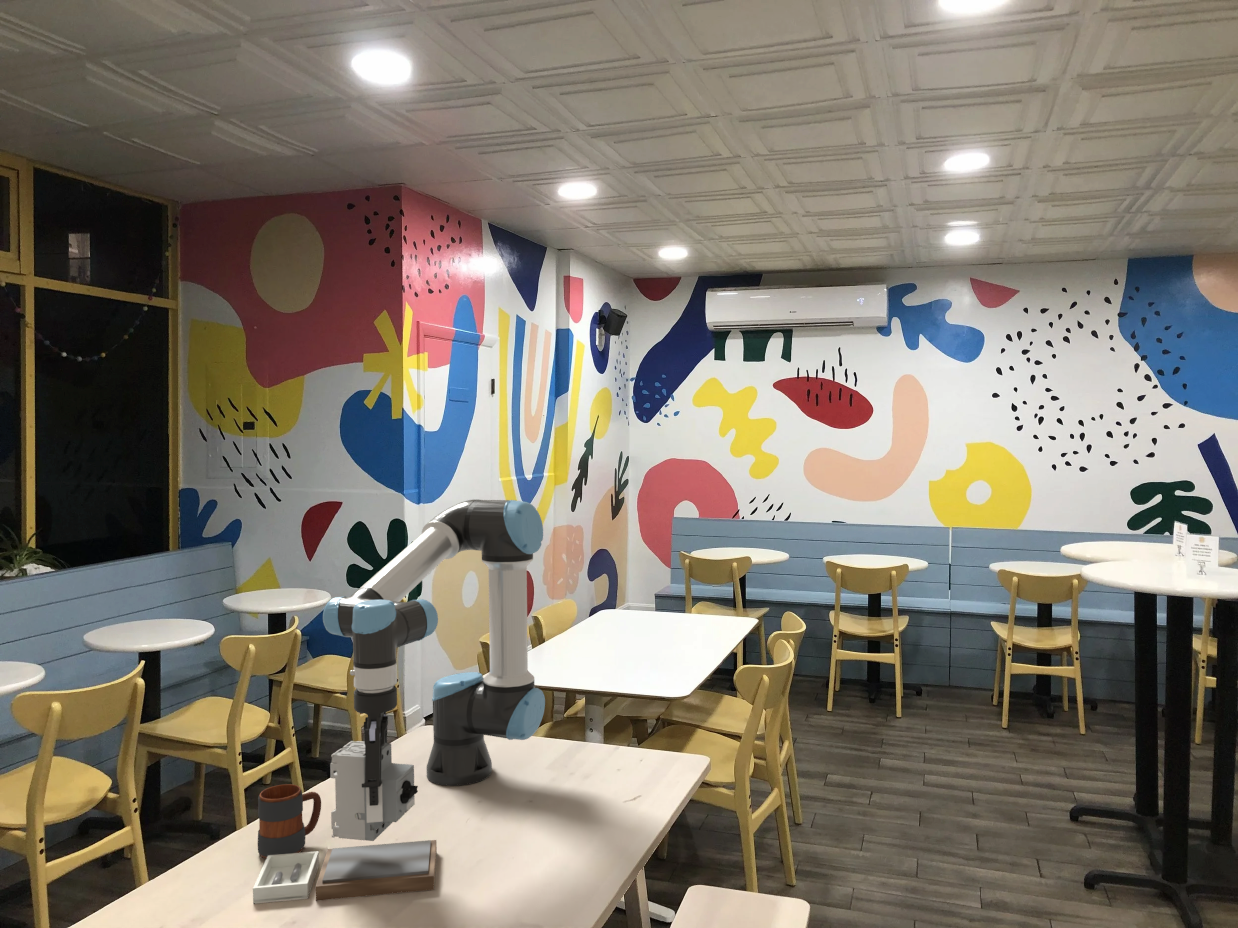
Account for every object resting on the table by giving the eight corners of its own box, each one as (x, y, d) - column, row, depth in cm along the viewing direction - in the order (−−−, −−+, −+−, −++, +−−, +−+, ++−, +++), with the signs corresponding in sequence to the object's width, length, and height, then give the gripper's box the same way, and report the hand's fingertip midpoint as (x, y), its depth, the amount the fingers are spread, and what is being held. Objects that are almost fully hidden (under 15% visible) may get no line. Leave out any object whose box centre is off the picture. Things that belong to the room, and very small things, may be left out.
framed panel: (328, 861, 169) (327, 846, 169) (436, 852, 173) (436, 837, 172) (315, 900, 155) (315, 883, 155) (433, 889, 159) (433, 872, 159)
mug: (328, 848, 175) (327, 789, 174) (264, 866, 168) (262, 804, 167) (315, 832, 182) (314, 775, 181) (253, 848, 175) (251, 789, 174)
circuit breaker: (406, 843, 158) (404, 759, 158) (331, 837, 161) (329, 754, 161) (423, 825, 166) (422, 745, 165) (352, 819, 169) (350, 740, 168)
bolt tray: (268, 869, 166) (268, 855, 166) (319, 865, 168) (318, 850, 168) (253, 903, 155) (252, 888, 155) (307, 898, 156) (307, 883, 156)
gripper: (360, 671, 173) (363, 787, 173) (345, 706, 151) (348, 838, 152) (401, 669, 174) (403, 784, 175) (391, 704, 152) (394, 834, 153)
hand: (377, 809), depth 163 cm, fingers closed on circuit breaker, 9 cm apart
